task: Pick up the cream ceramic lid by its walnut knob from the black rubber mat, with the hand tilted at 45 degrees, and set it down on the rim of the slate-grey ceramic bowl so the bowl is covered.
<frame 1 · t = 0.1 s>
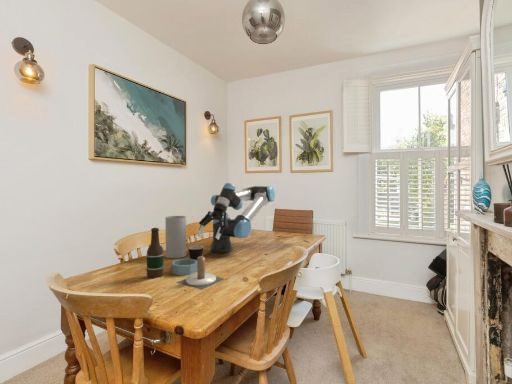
hand: (207, 237, 157), 15 cm above the table, tool tilted 35°, fingers open, 13 cm apart
coffee mug: (197, 264, 156), on the table
cylinder vase: (176, 256, 174), on the table
lid: (201, 280, 129), resting on mat
bowl: (185, 271, 143), on the table
mat: (201, 281, 129), on the table
beer bottle: (155, 276, 135), on the table
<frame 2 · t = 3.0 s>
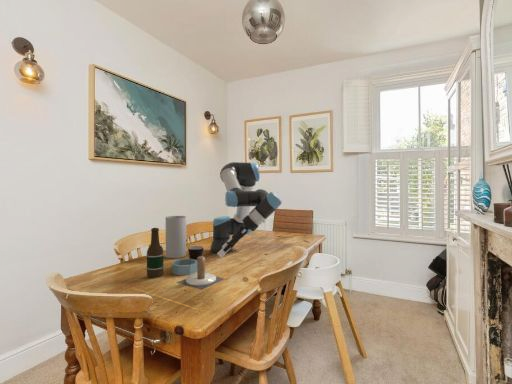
hand: (221, 252, 127), 14 cm above the table, tool tilted 45°, fingers open, 13 cm apart
nothing on the table moved.
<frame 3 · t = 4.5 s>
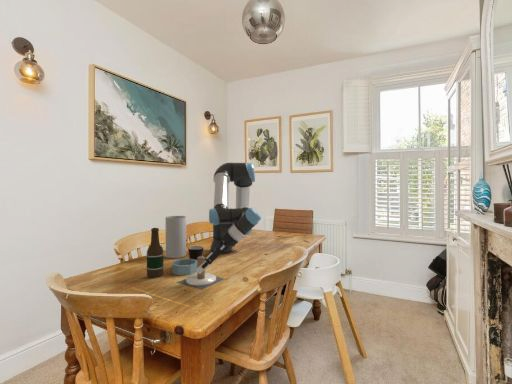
hand: (201, 267, 128), 7 cm above the table, tool tilted 45°, fingers open, 13 cm apart
nothing on the table moved.
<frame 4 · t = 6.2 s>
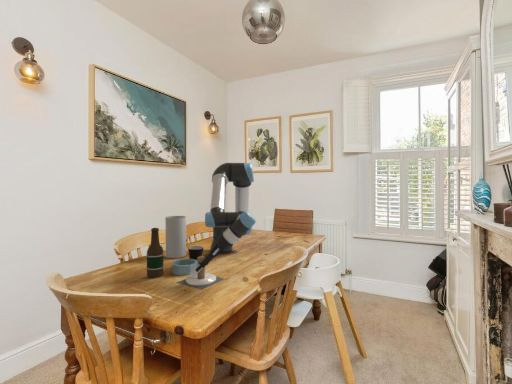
hand: (193, 273, 129), 4 cm above the table, tool tilted 45°, fingers closed on lid, 3 cm apart
lid: (201, 280, 129), resting on mat, touching gripper
everything else where it was.
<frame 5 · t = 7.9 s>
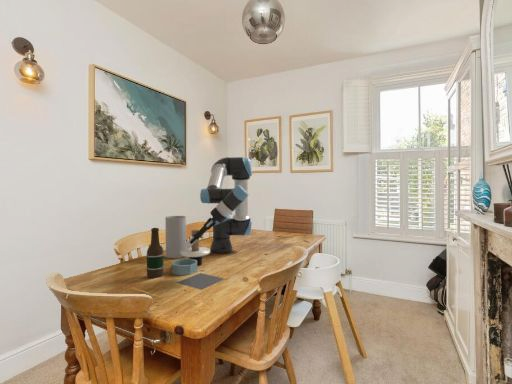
hand: (187, 246, 132), 16 cm above the table, tool tilted 45°, fingers closed on lid, 3 cm apart
lid: (195, 253, 132), point 13 cm above the table, touching gripper
everything else where it was.
when the fingers open (10 cm above the table, at t = 10.0 s): lid drops 1 cm, resting on bowl.
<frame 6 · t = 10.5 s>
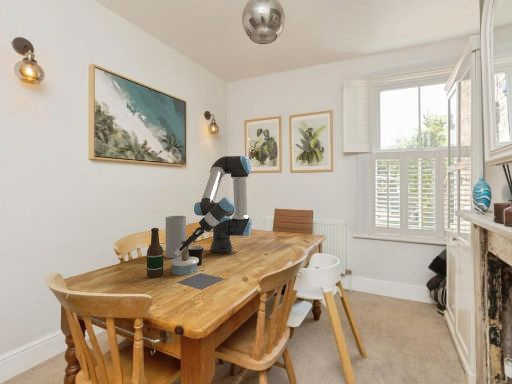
hand: (179, 251, 142), 11 cm above the table, tool tilted 45°, fingers open, 10 cm apart
lid: (185, 262, 143), point 5 cm above the table, touching bowl
everything else where it was.
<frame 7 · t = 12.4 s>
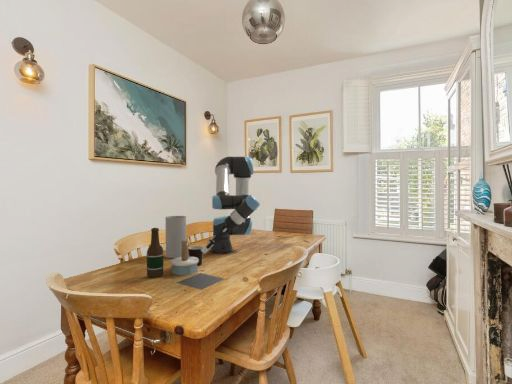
hand: (205, 248, 142), 12 cm above the table, tool tilted 45°, fingers open, 13 cm apart
nothing on the table moved.
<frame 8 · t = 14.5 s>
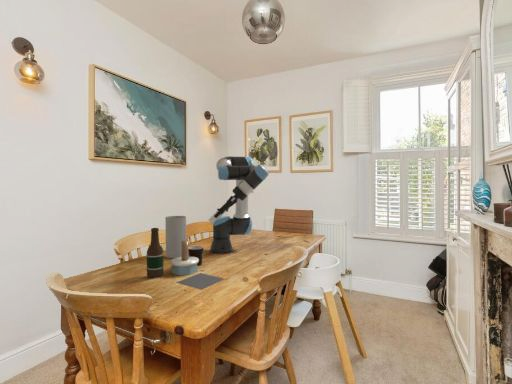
hand: (213, 220, 138), 28 cm above the table, tool tilted 45°, fingers open, 13 cm apart
nothing on the table moved.
at the end: lid 0.1 cm from the bowl (horizontally); lid 0.1 cm off-centre on the bowl, point 5.0 cm above the bowl's base; lid tilted 0° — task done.
